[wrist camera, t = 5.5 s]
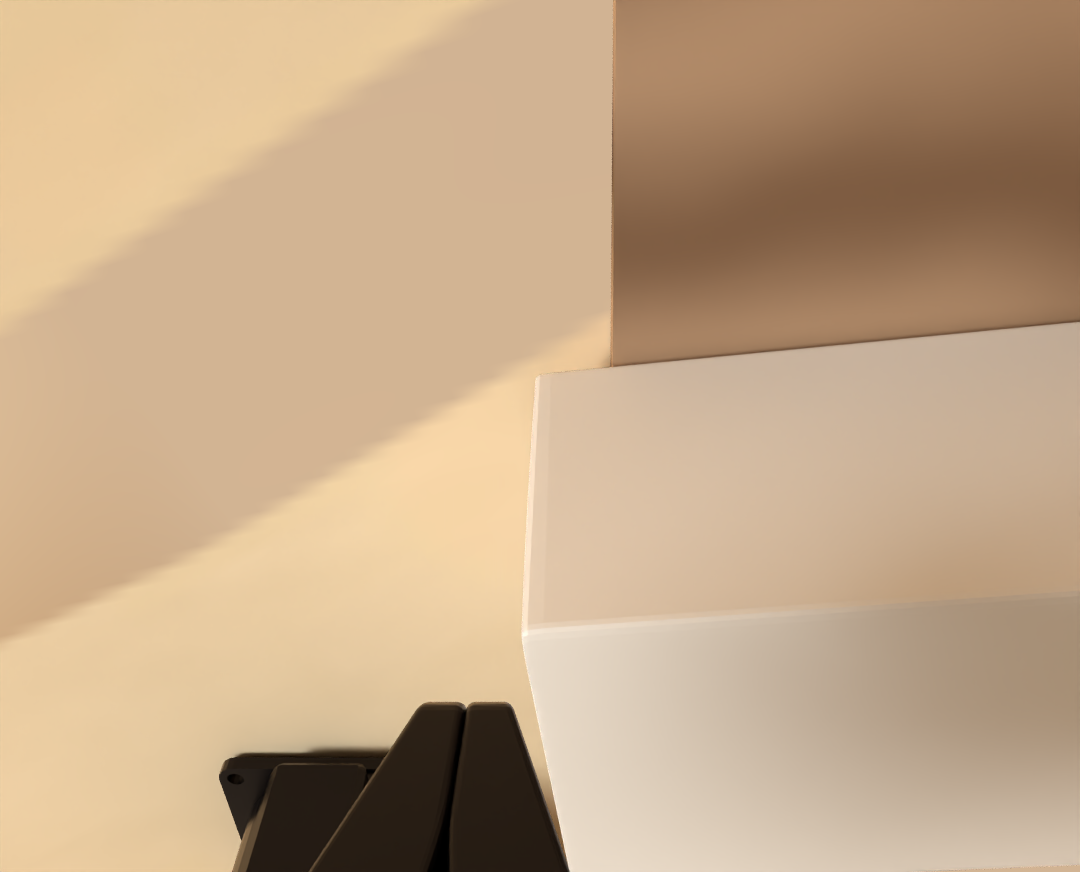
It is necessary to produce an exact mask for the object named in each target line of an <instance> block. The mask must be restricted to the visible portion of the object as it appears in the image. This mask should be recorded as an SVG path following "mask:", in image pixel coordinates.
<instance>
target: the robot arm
mask: <svg viewBox="0 0 1080 872" xmlns="http://www.w3.org/2000/svg"><path fill="white" fill-rule="evenodd" d="M219 780H220V782H221V785H222V788H223V791H224V794H225V796H226V799H227V802H228V805H229V807H230V810H231V813H232V816H233V818H234V821H235V824H236V827H237V830H238V832H239V835H240V838H241V841H242V842H241V845H240V848H239V851H238V854H237V858H236V861H235V864H234V867H233V870H232V872H570V870H569V868H568V865H567V862H566V859H565V856H564V853H563V850H562V847H561V844H560V842H559V839H558V836H557V833H556V830H555V827H554V824H553V821H552V819H551V816H550V813H549V810H548V807H547V804H546V801H545V798H544V795H543V793H542V790H541V787H540V784H539V781H538V778H537V775H536V772H535V769H534V767H533V764H532V761H531V758H530V755H529V752H528V749H527V746H526V744H525V741H524V738H523V735H522V732H521V729H520V726H519V723H518V720H517V718H516V715H515V712H514V709H513V707H512V706H511V705H510V704H509V703H507V702H474V703H471V704H469V705H468V707H467V709H466V707H465V705H464V704H462V703H459V702H427V703H424V704H422V705H421V706H420V707H419V708H418V709H417V710H416V711H415V713H414V714H413V716H412V717H411V719H410V720H409V722H408V723H407V725H406V726H405V728H404V729H403V731H402V732H401V734H400V735H399V737H398V738H397V740H396V741H395V743H394V744H393V746H392V747H391V749H390V750H389V752H388V753H387V755H386V756H385V758H230V759H228V760H226V761H225V762H224V763H223V766H222V769H221V771H220V774H219Z"/></svg>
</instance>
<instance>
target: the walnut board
mask: <svg viewBox="0 0 1080 872" xmlns="http://www.w3.org/2000/svg"><path fill="white" fill-rule="evenodd" d="M612 115H613V117H612V244H611V246H612V247H611V249H612V250H611V260H612V261H611V367H617V366H627V365H638V364H648V363H658V362H669V361H679V360H689V359H700V358H710V357H720V356H731V355H741V354H751V353H762V352H772V351H782V350H793V349H803V348H813V347H824V346H834V345H844V344H855V343H865V342H875V341H886V340H896V339H906V338H917V337H927V336H937V335H948V334H958V333H968V332H979V331H989V330H999V329H1010V328H1020V327H1030V326H1041V325H1051V324H1061V323H1072V322H1080V0H613V109H612Z"/></svg>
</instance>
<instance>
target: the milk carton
mask: <svg viewBox="0 0 1080 872" xmlns="http://www.w3.org/2000/svg"><path fill="white" fill-rule="evenodd" d="M522 643H523V650H524V656H525V661H526V666H527V671H528V676H529V681H530V685H531V690H532V695H533V700H534V705H535V709H536V714H537V719H538V724H539V728H540V733H541V738H542V743H543V748H544V752H545V757H546V762H547V767H548V771H549V776H550V781H551V786H552V791H553V795H554V800H555V805H556V810H557V814H558V819H559V824H560V829H561V834H562V838H563V843H564V848H565V853H566V857H567V862H568V867H569V870H570V872H927V871H950V870H974V869H996V868H1020V867H1043V866H1065V865H1066V866H1067V865H1080V322H1072V323H1061V324H1051V325H1041V326H1030V327H1020V328H1010V329H999V330H989V331H979V332H968V333H958V334H948V335H937V336H927V337H917V338H906V339H896V340H886V341H875V342H865V343H855V344H844V345H834V346H824V347H813V348H803V349H793V350H782V351H772V352H762V353H751V354H741V355H731V356H720V357H710V358H700V359H689V360H679V361H669V362H658V363H648V364H638V365H627V366H617V367H607V368H596V369H586V370H576V371H565V372H555V373H548V374H541V375H539V376H537V377H536V383H535V397H534V411H533V425H532V440H531V455H530V472H529V489H528V506H527V524H526V544H525V564H524V586H523V612H522Z"/></svg>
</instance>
